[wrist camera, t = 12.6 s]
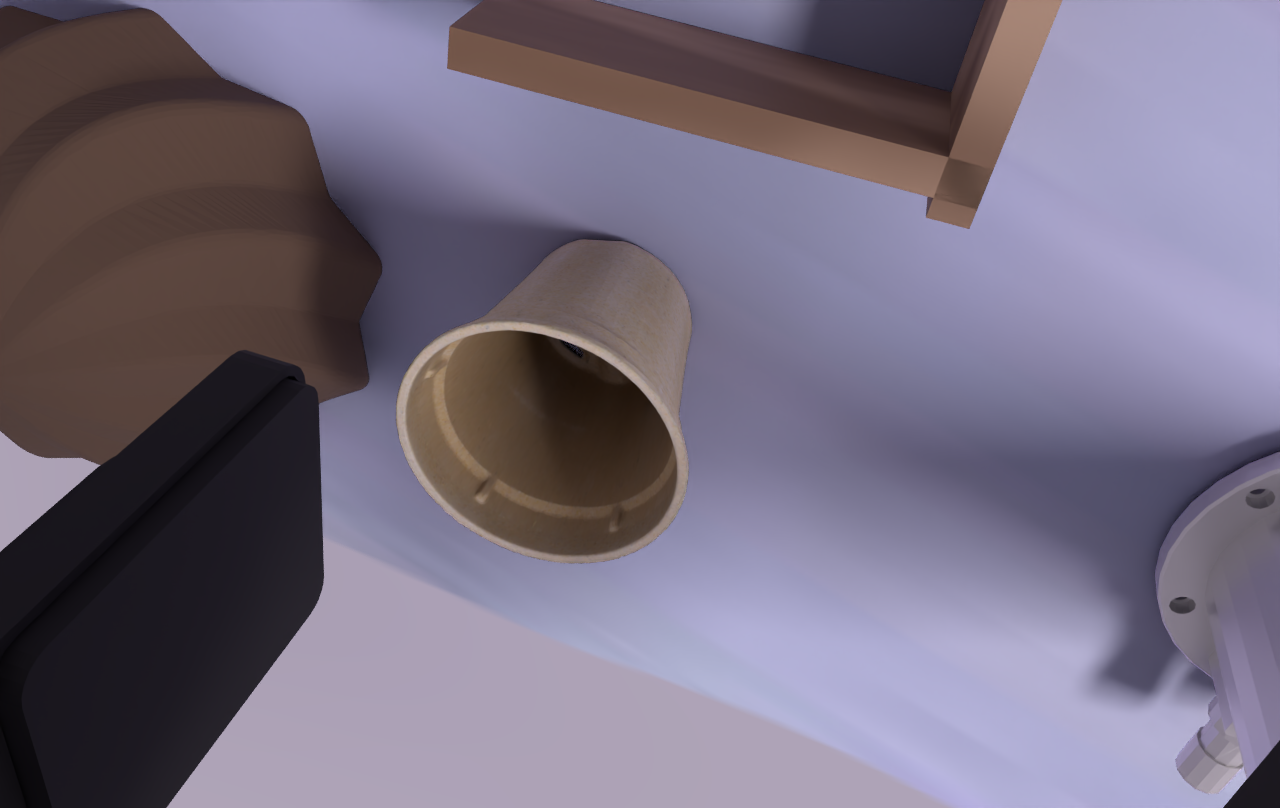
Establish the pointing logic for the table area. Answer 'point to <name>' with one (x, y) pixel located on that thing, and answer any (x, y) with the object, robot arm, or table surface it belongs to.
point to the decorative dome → (155, 234)
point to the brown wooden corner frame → (772, 89)
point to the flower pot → (559, 408)
